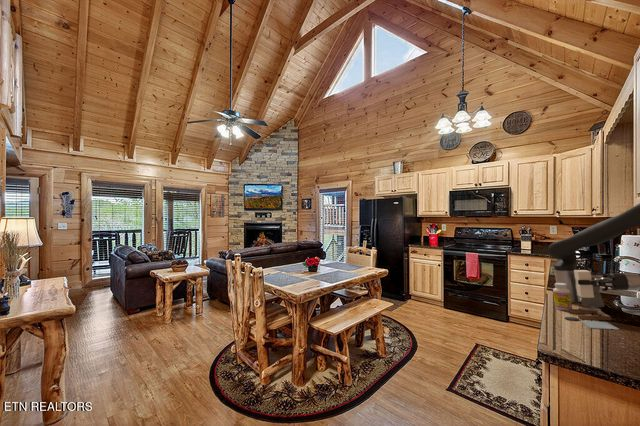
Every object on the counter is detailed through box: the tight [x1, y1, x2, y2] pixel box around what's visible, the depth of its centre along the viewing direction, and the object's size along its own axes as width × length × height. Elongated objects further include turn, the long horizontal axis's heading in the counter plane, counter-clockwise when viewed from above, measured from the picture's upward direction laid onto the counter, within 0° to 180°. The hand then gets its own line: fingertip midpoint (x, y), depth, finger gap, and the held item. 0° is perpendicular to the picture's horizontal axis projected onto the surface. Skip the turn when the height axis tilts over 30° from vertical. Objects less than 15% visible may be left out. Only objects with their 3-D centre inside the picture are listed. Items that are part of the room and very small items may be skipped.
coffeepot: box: [573, 270, 609, 308], centre depth 144 cm, size 15×9×18 cm, turn 70°
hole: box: [564, 316, 580, 322], centre depth 126 cm, size 5×5×1 cm
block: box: [574, 269, 594, 298], centre depth 130 cm, size 4×4×12 cm
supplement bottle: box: [552, 282, 573, 311], centre depth 141 cm, size 7×7×13 cm
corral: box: [568, 308, 612, 321], centre depth 128 cm, size 11×11×2 cm
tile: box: [579, 320, 620, 331], centre depth 116 cm, size 9×9×1 cm
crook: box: [577, 306, 602, 312], centre depth 136 cm, size 8×6×2 cm
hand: (576, 281), depth 131 cm, fingers closed on block, 4 cm apart
